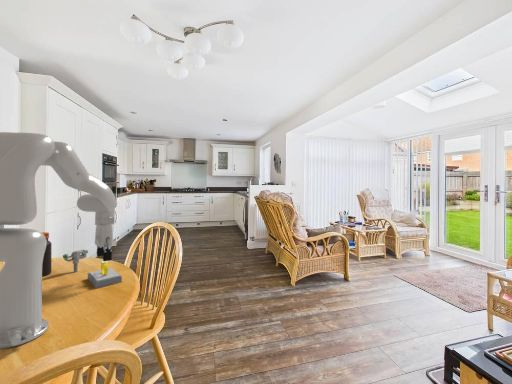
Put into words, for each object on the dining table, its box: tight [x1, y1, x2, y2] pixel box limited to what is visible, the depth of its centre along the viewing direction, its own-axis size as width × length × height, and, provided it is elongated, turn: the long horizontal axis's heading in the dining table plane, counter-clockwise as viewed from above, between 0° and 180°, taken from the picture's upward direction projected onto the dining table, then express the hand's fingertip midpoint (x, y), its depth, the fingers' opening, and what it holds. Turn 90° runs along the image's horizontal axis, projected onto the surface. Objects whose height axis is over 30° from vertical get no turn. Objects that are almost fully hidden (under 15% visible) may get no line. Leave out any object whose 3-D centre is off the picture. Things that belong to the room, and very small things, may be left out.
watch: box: [100, 260, 109, 275], centre depth 110 cm, size 6×3×6 cm, turn 46°
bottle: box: [42, 231, 52, 277], centre depth 114 cm, size 7×7×20 cm
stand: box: [87, 267, 123, 289], centre depth 110 cm, size 14×10×3 cm
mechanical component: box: [62, 249, 89, 273], centre depth 119 cm, size 3×10×10 cm, turn 152°
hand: (103, 258), depth 109 cm, fingers open, 9 cm apart
